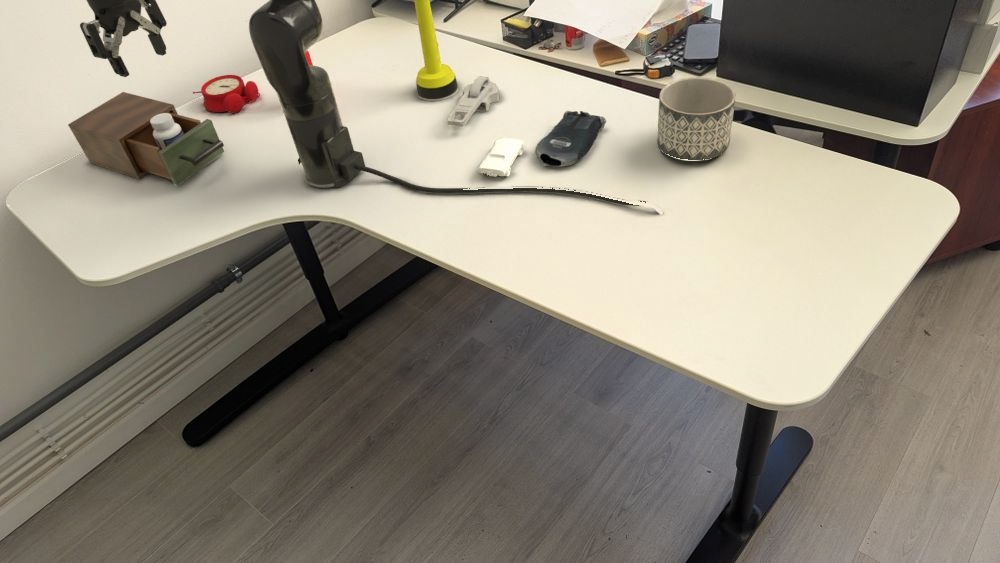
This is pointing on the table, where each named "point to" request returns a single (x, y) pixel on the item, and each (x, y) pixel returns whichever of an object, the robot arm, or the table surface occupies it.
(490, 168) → the toy car
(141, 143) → the drawer
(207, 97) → the alarm clock
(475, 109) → the zipper pull
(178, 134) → the pill bottle
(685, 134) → the planter
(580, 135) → the electronic device
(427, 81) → the flashlight
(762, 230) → the table surface
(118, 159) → the cabinet
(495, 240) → the table surface
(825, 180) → the table surface
